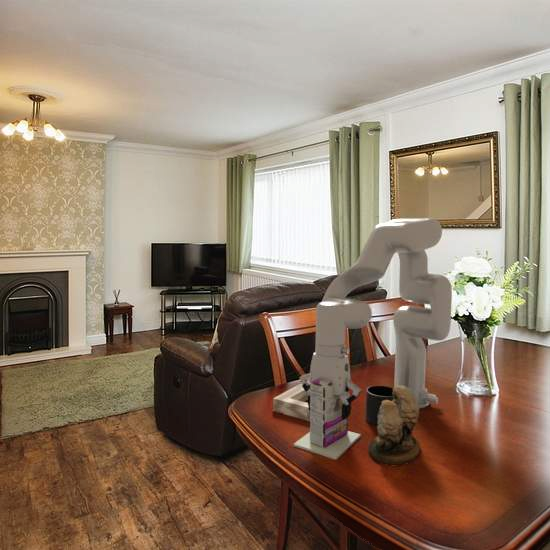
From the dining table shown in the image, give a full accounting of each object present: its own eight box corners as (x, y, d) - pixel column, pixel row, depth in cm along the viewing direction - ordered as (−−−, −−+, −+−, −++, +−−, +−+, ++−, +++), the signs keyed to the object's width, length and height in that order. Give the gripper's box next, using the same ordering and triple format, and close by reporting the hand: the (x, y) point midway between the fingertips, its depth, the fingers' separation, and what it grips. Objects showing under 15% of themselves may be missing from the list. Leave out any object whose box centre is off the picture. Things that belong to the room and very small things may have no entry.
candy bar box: (333, 428, 122) (334, 371, 120) (348, 434, 118) (349, 375, 117) (308, 442, 114) (309, 381, 112) (323, 449, 110) (325, 385, 109)
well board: (348, 402, 143) (348, 390, 142) (319, 423, 126) (319, 410, 126) (305, 391, 152) (305, 380, 151) (273, 410, 135) (273, 398, 135)
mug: (404, 415, 133) (405, 386, 132) (392, 430, 122) (393, 399, 122) (374, 409, 138) (375, 380, 137) (360, 422, 127) (361, 392, 127)
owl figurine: (384, 431, 123) (386, 371, 121) (427, 442, 116) (430, 379, 115) (359, 457, 107) (362, 390, 106) (407, 472, 101) (411, 401, 100)
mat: (360, 436, 119) (360, 434, 119) (335, 459, 106) (335, 457, 106) (321, 425, 125) (321, 423, 125) (293, 446, 113) (293, 443, 113)
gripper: (367, 351, 112) (365, 416, 113) (308, 341, 121) (307, 401, 123) (355, 358, 106) (353, 426, 107) (293, 347, 115) (293, 410, 117)
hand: (328, 413), depth 115 cm, fingers open, 9 cm apart
